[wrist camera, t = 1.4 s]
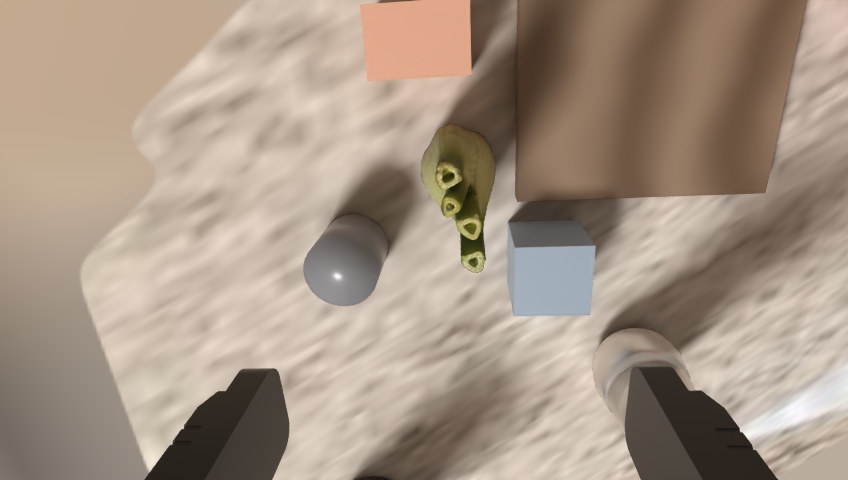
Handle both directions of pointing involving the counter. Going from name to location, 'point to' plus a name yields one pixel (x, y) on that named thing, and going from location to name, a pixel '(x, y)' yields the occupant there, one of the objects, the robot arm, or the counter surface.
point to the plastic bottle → (631, 365)
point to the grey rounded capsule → (346, 260)
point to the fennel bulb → (461, 185)
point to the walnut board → (650, 96)
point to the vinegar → (372, 479)
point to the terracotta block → (417, 39)
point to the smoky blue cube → (550, 268)
